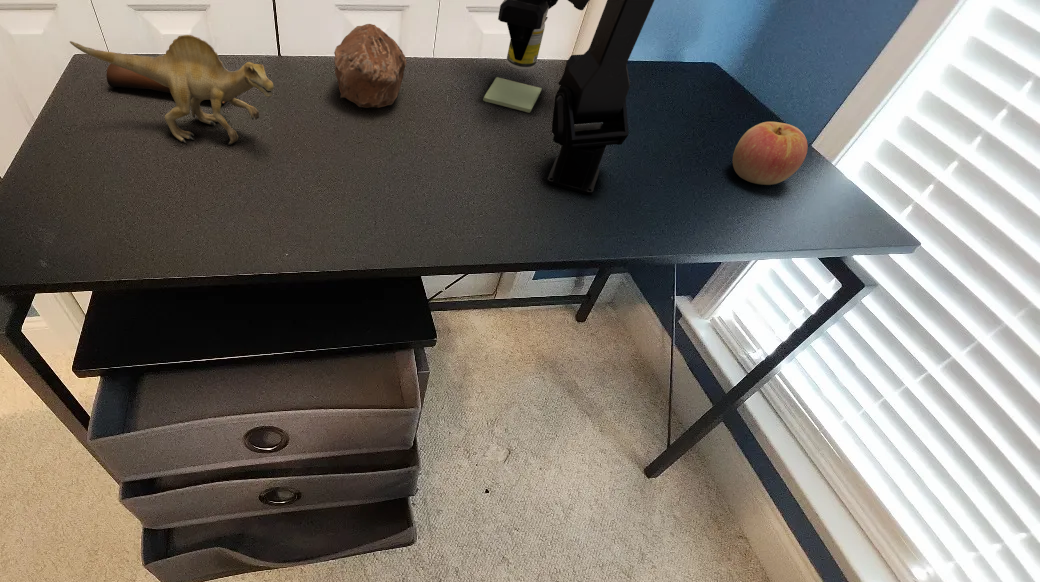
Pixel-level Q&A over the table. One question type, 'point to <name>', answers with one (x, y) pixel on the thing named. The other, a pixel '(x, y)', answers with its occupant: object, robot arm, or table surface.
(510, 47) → the supplement bottle
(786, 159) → the apple
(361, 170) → the table surface
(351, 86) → the decorative rock
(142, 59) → the dinosaur figurine
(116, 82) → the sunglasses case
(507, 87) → the mat
